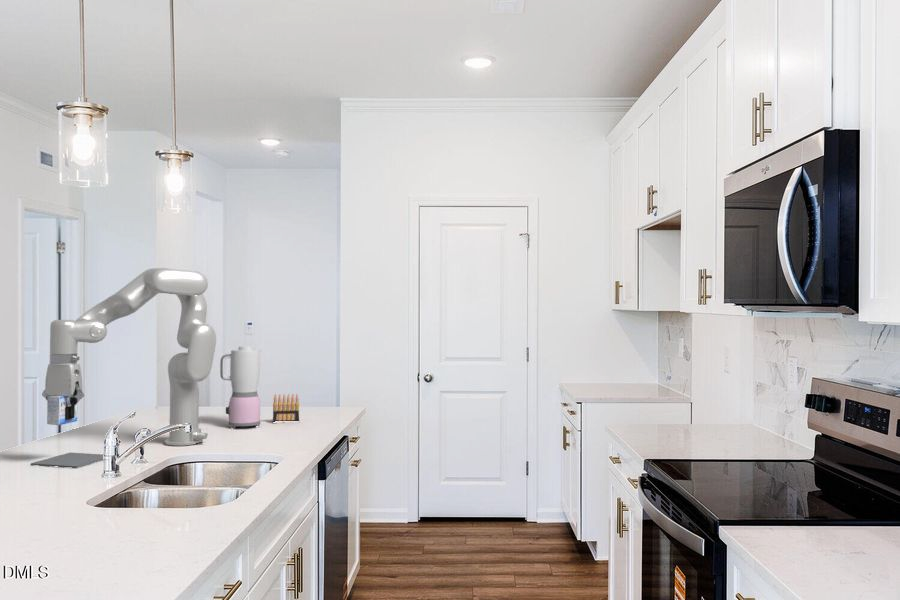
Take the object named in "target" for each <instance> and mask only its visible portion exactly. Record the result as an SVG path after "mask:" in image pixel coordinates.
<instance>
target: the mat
mask: <svg viewBox="0 0 900 600" xmlns="http://www.w3.org/2000/svg"><path fill="white" fill-rule="evenodd" d="M103 455H104V454H99V453H84V452H66V453H63V454H59V455H55V456H53V457H48V458H45V459H42V460H41V459H40V460H38V461H33V462H30V466H34V465H39V466H38V467H49V466H58V467H57V468H64V467H72V468H71V469H79V467H80V468H83V467H86V466H90V465H93V464H95V462H96V463H99V462H101V461H104V460H103ZM98 461H99V462H98ZM92 463H93V464H92ZM85 465H86V466H85ZM82 466H83V467H82Z"/></svg>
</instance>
